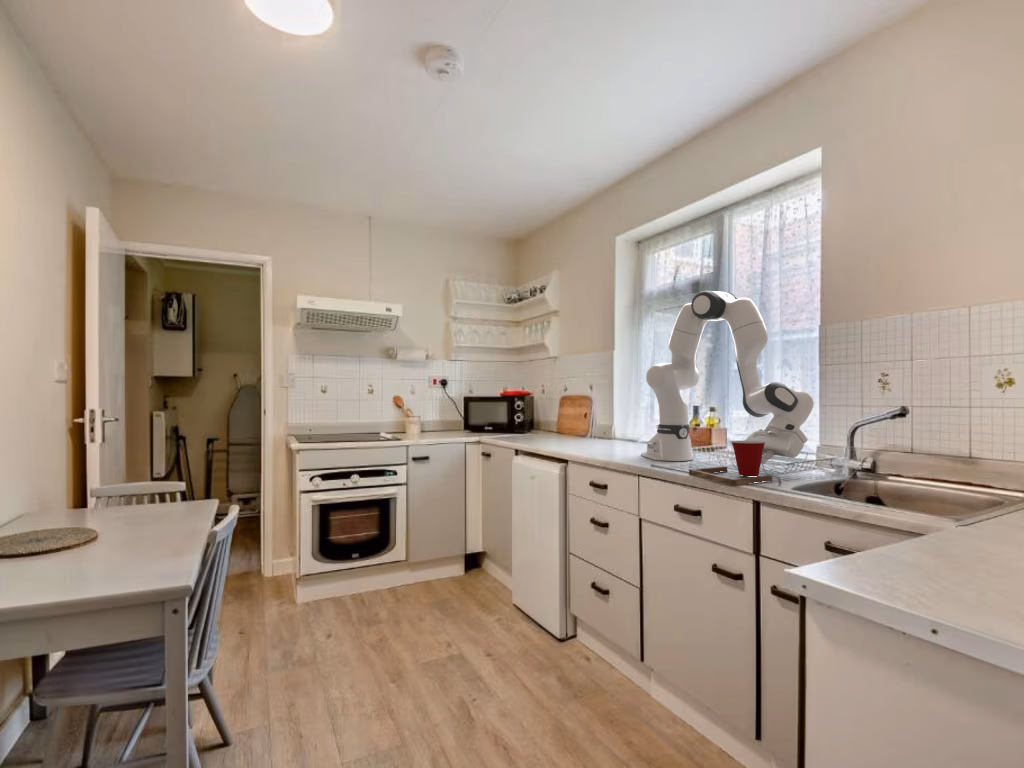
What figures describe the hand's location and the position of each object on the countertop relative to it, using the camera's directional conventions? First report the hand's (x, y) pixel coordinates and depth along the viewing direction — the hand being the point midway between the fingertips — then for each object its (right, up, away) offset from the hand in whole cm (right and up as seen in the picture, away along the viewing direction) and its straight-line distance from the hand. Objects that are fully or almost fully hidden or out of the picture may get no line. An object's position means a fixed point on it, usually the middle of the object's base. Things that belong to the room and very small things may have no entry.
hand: (759, 462), depth 167 cm
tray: (-12, -5, -4) cm, 13 cm away
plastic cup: (-4, -5, -2) cm, 7 cm away
